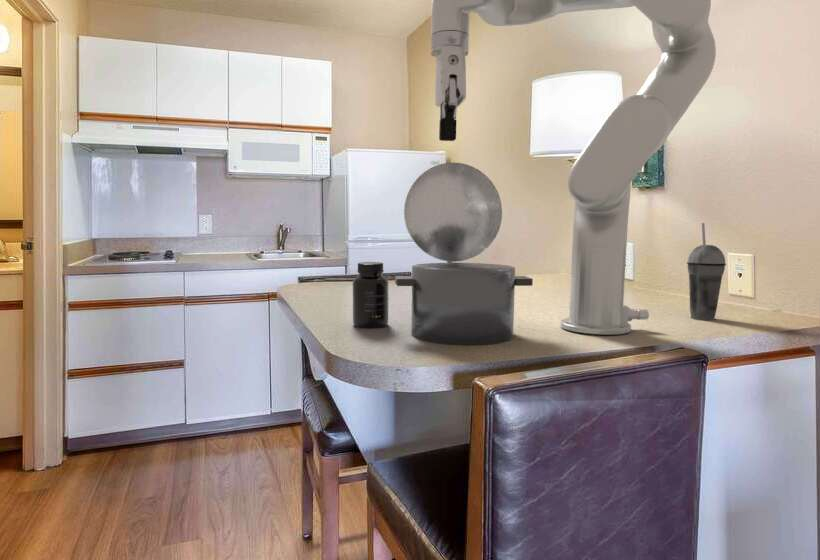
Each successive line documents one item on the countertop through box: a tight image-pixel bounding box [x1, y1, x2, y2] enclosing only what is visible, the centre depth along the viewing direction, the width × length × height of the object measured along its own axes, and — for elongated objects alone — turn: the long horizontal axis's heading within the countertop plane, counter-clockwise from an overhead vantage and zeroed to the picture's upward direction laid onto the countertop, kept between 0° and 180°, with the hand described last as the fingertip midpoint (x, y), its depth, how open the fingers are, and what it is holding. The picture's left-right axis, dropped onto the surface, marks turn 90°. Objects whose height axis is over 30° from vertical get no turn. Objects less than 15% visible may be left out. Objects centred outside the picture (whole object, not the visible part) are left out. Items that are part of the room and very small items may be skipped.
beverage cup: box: [686, 222, 727, 321], centre depth 116 cm, size 7×7×20 cm
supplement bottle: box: [352, 261, 389, 329], centre depth 106 cm, size 7×7×12 cm
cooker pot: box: [394, 262, 534, 346], centre depth 98 cm, size 24×18×12 cm
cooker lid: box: [403, 162, 503, 263], centre depth 108 cm, size 19×19×3 cm
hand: (447, 140), depth 113 cm, fingers closed
